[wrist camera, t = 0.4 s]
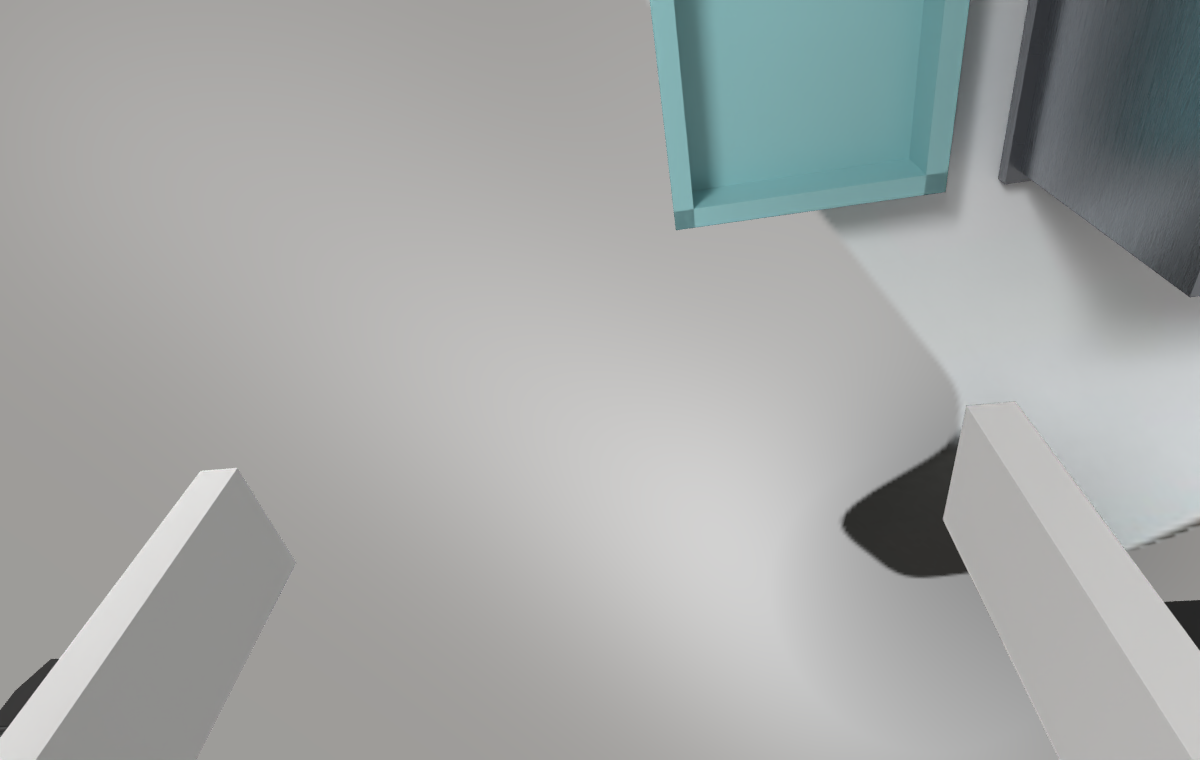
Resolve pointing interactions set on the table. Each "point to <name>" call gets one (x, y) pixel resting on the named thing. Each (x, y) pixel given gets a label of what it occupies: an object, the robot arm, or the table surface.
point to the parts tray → (805, 102)
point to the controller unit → (1115, 123)
